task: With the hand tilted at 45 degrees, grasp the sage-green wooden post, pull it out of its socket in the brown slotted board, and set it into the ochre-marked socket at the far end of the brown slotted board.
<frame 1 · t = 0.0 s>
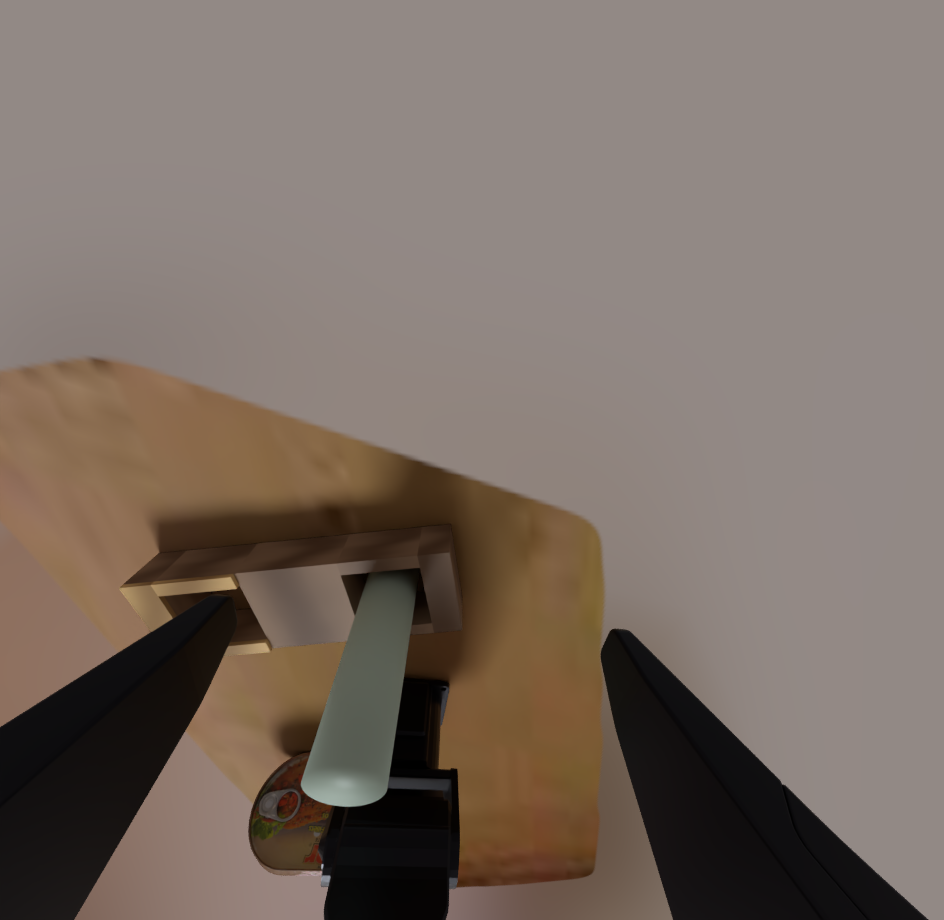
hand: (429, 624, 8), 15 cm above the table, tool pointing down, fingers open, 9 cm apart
post: (395, 568, 27), resting in brown slotted board
tin: (348, 758, 39), on the table
brown slotted board: (318, 576, 27), on the table
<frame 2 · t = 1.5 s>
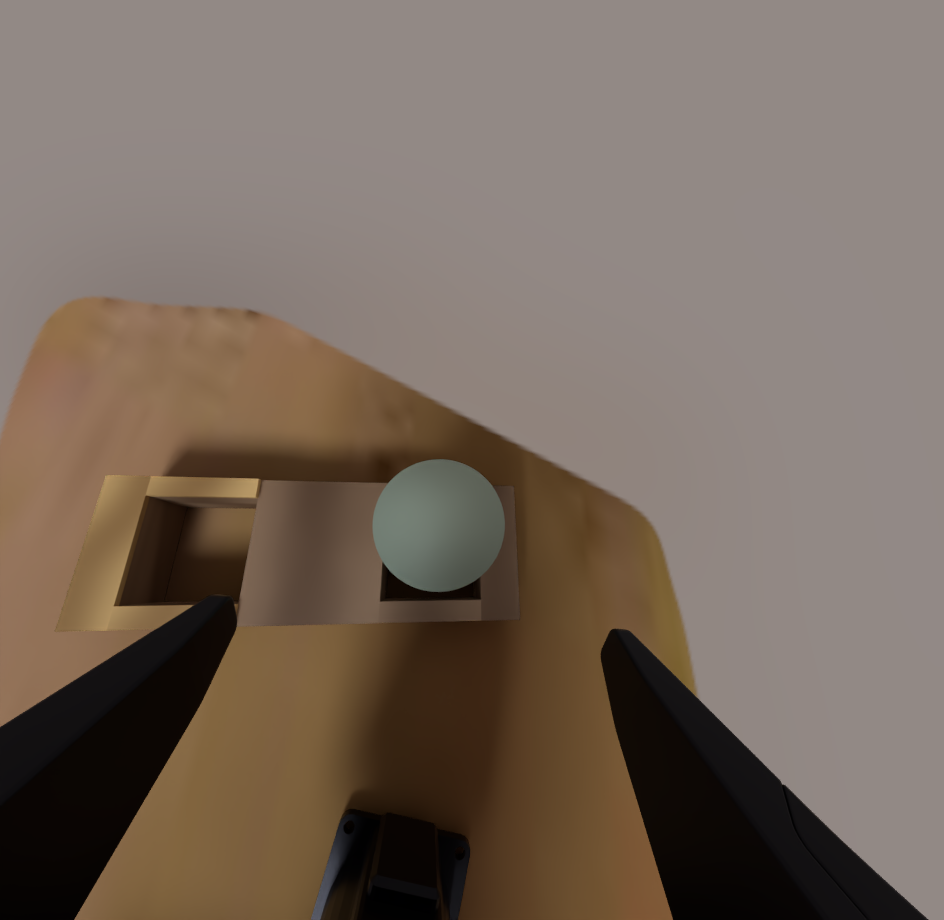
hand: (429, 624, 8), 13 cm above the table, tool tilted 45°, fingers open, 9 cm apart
post: (431, 552, 22), resting in brown slotted board
brown slotted board: (331, 552, 21), on the table
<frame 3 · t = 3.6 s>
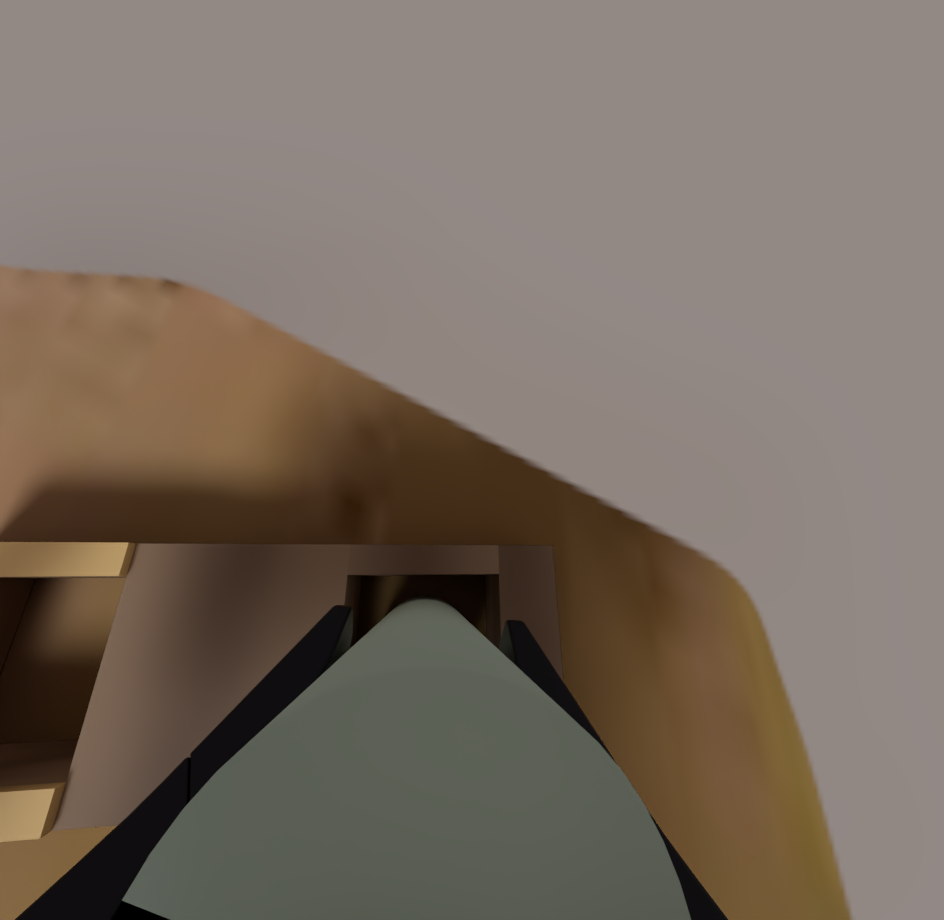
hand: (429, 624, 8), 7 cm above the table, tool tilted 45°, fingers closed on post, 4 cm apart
post: (422, 643, 14), resting in brown slotted board, touching gripper
brown slotted board: (265, 648, 13), on the table
when the fingers open (8 cm above the table, at t = 8.2 s): post drops 1 cm, resting in brown slotted board.
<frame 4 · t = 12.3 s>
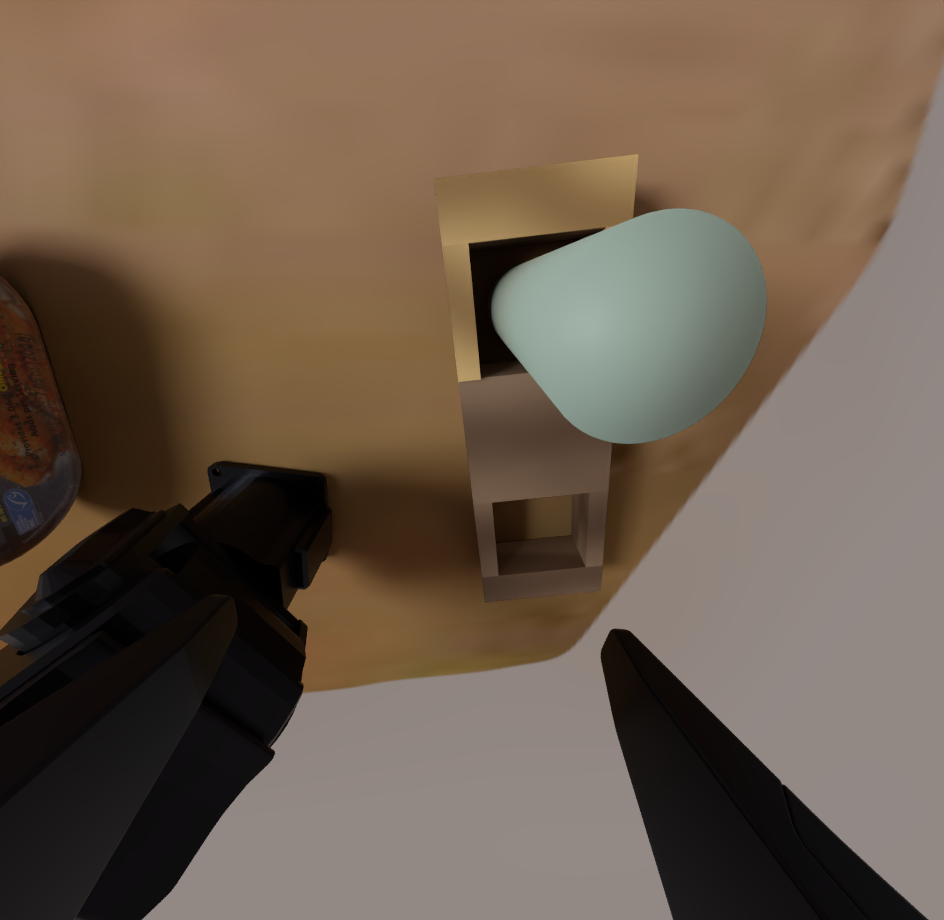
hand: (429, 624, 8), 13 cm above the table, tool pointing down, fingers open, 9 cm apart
post: (523, 306, 17), resting in brown slotted board
tin: (34, 390, 19), on the table
brown slotted board: (528, 419, 20), on the table
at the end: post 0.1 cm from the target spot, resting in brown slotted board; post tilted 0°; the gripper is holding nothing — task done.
